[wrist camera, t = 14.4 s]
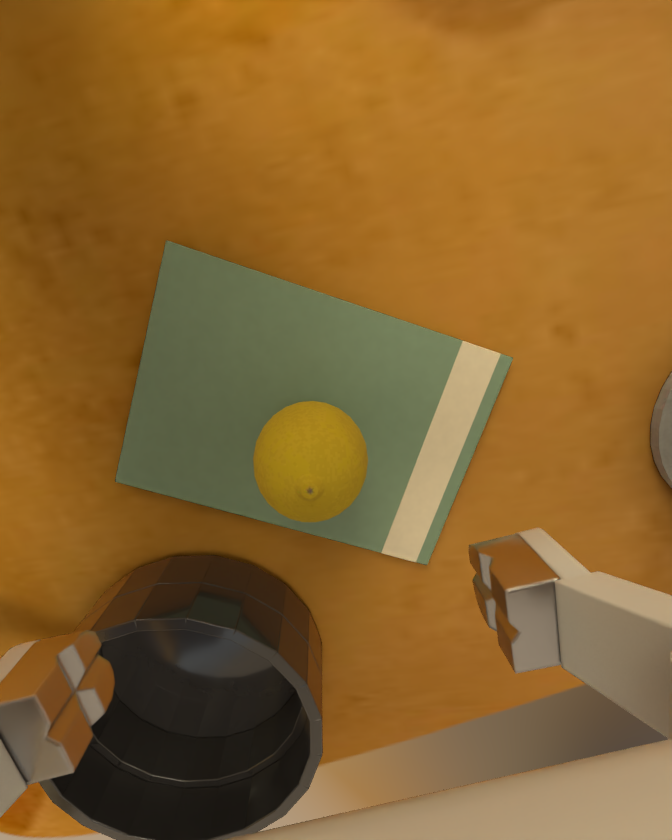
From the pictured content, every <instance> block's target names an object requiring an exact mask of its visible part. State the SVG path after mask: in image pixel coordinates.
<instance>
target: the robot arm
mask: <svg viewBox="0 0 672 840" xmlns="http://www.w3.org/2000/svg"><path fill="white" fill-rule="evenodd" d="M469 558H470V563H471V564H472V566H473V568H474V569H475V571H476V572H477V573H476V575H475V576H474V578H473V585H474V591H475V595H476V599H477V602H478V605H479V608H480V611H481V613H482V615H483V617H484V619H485V621H486V623H487V625H488V626H489V627H490V628H492V629H493V630H495V631H497V635H498V642H499V646H500V647H501V649H502V651H503V653H504V654H505V656H506V658H507V660H508V661H509V663H510V665H511V666H512V668H513V670H514V672H515V673H521V672H526V671H531V670H536V669H541V668H546V667H552V666H557V665H561V667H562V668H564V669H565V670H567V671H568V672H570V673H571V674H573V675H574V676H576V677H577V678H579V679H580V680H582V681H583V682H585V683H586V684H587V685H589V686H590V687H592V688H594V689H595V690H597V691H598V692H599V693H601V694H602V695H604V696H605V697H607V698H609V699H610V700H612V701H613V702H615V703H616V704H617V705H619V706H620V707H622V708H623V709H625V710H626V711H628V712H630V713H631V714H632V715H634V716H635V717H637V718H638V719H640V720H641V721H643V722H644V723H646V724H647V725H649V726H650V727H652V728H653V729H655V730H656V731H658V732H659V733H661V734H662V735H664V736H665V737H667V738H668V739H669V740H664V741H660V742H656V743H651V744H647V745H642V746H638V747H633V748H629V749H625V750H620V751H615V752H611V753H606V754H602V755H597V756H593V757H589V758H584V759H580V760H575V761H571V762H567V763H562V764H558V765H553V766H549V767H544V768H540V769H535V770H531V771H526V772H522V773H518V774H513V775H509V776H504V777H500V778H495V779H491V780H487V781H482V782H478V783H473V784H469V785H464V786H460V787H456V788H451V789H447V790H442V791H438V792H433V793H429V794H425V795H420V796H416V797H411V798H407V799H402V800H398V801H393V802H389V803H385V804H380V805H376V806H371V807H367V808H362V809H358V810H354V811H349V812H345V813H340V814H336V815H331V816H327V817H323V818H318V819H314V820H310V821H305V822H301V823H296V824H292V825H287V826H283V827H278V828H274V829H270V830H266V831H261V832H256V833H252V834H247V835H243V836H238V837H234V838H230V839H225V840H672V595H669V594H666V593H663V592H660V591H657V590H654V589H651V588H648V587H645V586H642V585H639V584H636V583H633V582H629V581H626V580H623V579H620V578H617V577H614V576H611V575H608V574H605V573H602V572H599V571H597V572H592V573H590V572H589V571H588V570H587V569H586V568H585V567H584V566H583V565H582V564H581V563H579V562H578V561H577V560H576V559H575V558H574V557H573V556H572V555H571V554H569V553H568V552H567V551H566V550H565V549H564V548H563V547H562V546H561V545H559V544H558V543H557V542H556V541H555V540H554V539H553V538H552V537H551V536H550V535H548V534H547V533H546V532H545V531H544V530H543V529H540V528H534V529H530V530H526V531H522V532H519V533H515V534H513V535H509V536H505V537H501V538H496V539H492V540H488V541H484V542H480V543H475V544H471V545H469ZM101 645H102V644H101V642H100V640H99V638H98V636H97V634H96V632H93V631H90V630H84V631H79V632H74V633H69V634H64V635H59V636H54V637H49V638H44V639H42V640H35V641H31V642H26V643H22V644H19V645H16V646H14V647H12V648H10V649H9V650H8V651H7V652H6V653H5V655H4V656H3V657H2V658H1V659H0V817H1V816H2V815H3V814H4V813H5V812H6V811H7V810H8V809H9V807H10V806H11V805H12V804H13V803H14V802H15V801H16V800H17V799H18V798H19V797H20V795H21V794H22V793H23V792H24V791H25V790H26V789H27V788H28V786H27V785H29V784H33V783H36V782H40V781H44V780H48V779H52V778H56V777H60V776H63V775H67V774H71V773H74V772H75V770H76V768H77V766H78V764H79V762H80V760H81V758H82V757H83V755H84V753H85V751H86V749H87V747H88V745H89V743H90V741H91V739H92V737H93V731H92V725H93V724H94V723H95V722H96V721H97V720H99V719H100V718H101V717H102V716H103V715H104V714H105V712H106V710H107V708H108V706H109V704H110V702H111V700H112V697H113V691H114V685H115V679H114V672H113V669H112V667H111V664H110V662H109V661H108V660H106V659H105V658H103V657H102V656H100V655H98V654H99V651H100V648H101Z"/></svg>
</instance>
